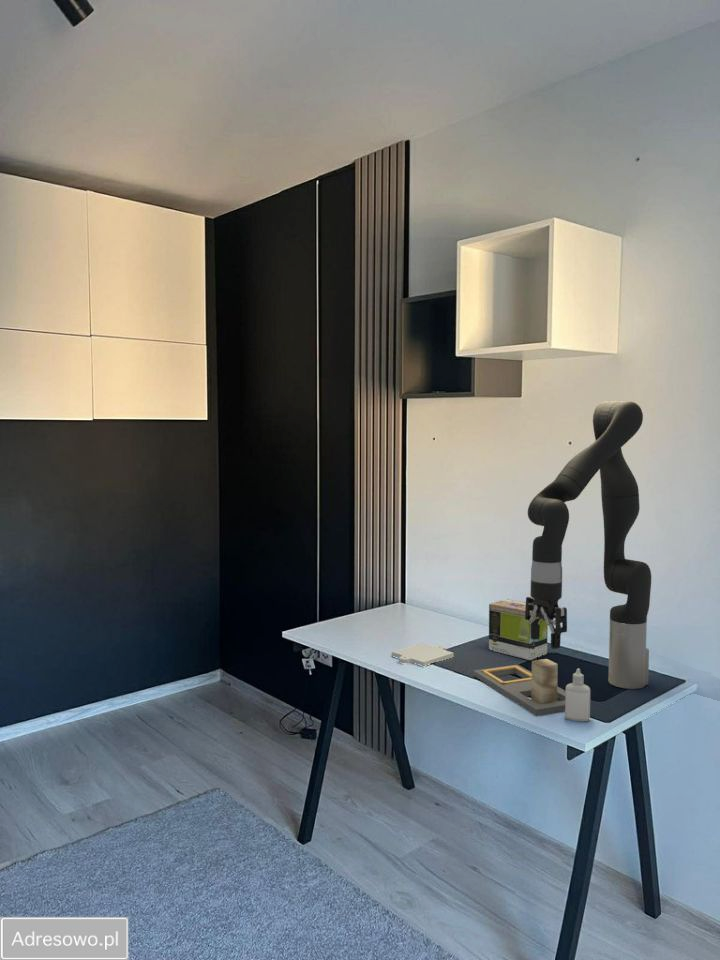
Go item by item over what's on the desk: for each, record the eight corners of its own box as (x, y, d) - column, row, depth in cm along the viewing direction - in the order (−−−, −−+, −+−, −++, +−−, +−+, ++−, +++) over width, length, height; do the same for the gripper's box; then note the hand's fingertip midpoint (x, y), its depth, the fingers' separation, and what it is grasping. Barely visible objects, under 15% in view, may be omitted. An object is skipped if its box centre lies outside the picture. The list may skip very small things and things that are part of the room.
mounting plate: (417, 670, 211) (417, 664, 211) (385, 660, 220) (385, 653, 220) (459, 657, 223) (459, 650, 223) (427, 647, 232) (427, 641, 232)
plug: (546, 697, 189) (547, 658, 188) (557, 703, 185) (557, 664, 184) (531, 699, 187) (531, 660, 187) (541, 706, 183) (542, 666, 182)
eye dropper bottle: (582, 724, 172) (583, 674, 171) (561, 717, 176) (562, 668, 175) (593, 719, 175) (594, 669, 174) (572, 712, 179) (573, 664, 178)
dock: (517, 669, 210) (517, 663, 210) (585, 707, 182) (585, 700, 182) (473, 675, 205) (473, 669, 205) (536, 715, 177) (536, 707, 177)
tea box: (548, 654, 224) (549, 605, 223) (529, 661, 217) (530, 611, 216) (506, 643, 235) (507, 597, 234) (487, 650, 228) (487, 602, 227)
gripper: (577, 583, 178) (575, 650, 179) (542, 572, 192) (540, 634, 193) (550, 585, 176) (549, 653, 177) (517, 574, 189) (516, 637, 190)
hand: (544, 643), depth 185 cm, fingers open, 8 cm apart
